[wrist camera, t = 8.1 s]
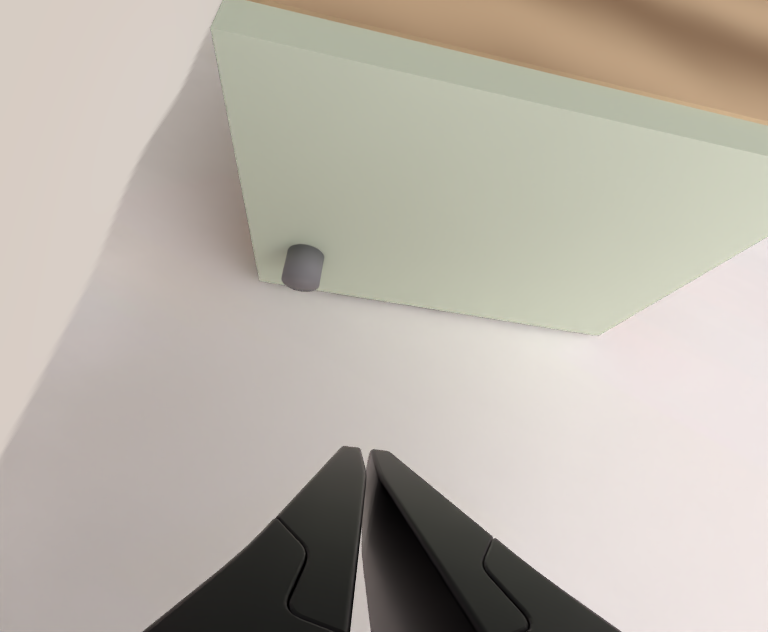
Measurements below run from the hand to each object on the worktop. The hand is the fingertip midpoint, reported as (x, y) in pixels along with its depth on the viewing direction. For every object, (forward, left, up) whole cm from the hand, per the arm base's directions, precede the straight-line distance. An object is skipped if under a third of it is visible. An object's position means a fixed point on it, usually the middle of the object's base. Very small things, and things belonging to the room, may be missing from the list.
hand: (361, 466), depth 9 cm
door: (+8, -4, -7) cm, 11 cm away
